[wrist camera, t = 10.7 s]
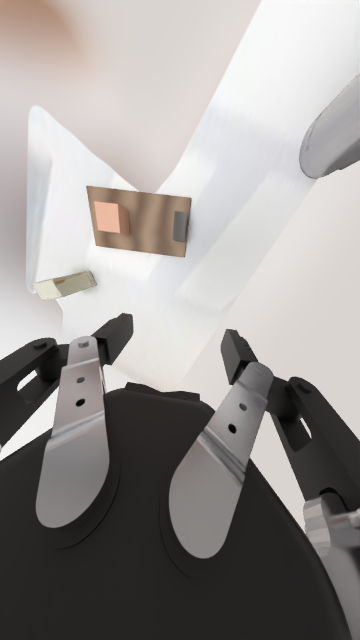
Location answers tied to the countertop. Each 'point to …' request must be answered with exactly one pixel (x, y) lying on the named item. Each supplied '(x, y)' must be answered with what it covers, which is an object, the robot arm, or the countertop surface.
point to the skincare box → (64, 285)
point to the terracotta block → (112, 218)
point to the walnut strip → (144, 221)
